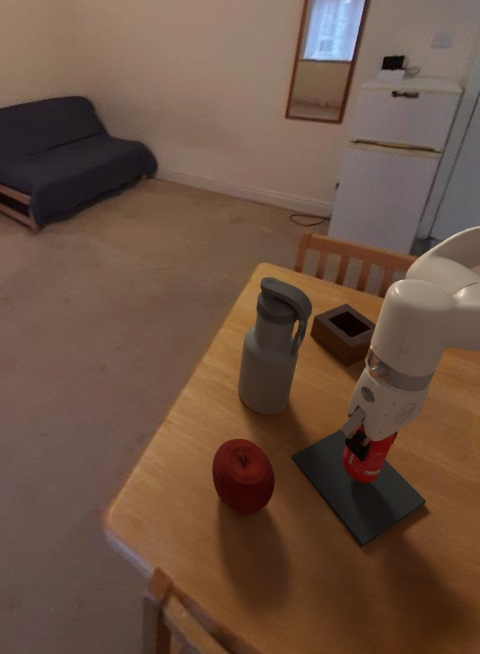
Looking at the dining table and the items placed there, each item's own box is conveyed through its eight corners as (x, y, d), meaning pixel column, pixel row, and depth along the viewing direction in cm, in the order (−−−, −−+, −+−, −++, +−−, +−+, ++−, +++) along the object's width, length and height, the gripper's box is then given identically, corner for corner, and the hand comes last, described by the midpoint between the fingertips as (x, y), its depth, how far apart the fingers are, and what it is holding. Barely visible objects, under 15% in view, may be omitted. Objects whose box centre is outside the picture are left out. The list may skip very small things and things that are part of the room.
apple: (279, 492, 67) (288, 456, 62) (252, 545, 60) (259, 509, 56) (228, 453, 73) (233, 417, 68) (198, 497, 66) (201, 461, 62)
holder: (341, 321, 100) (346, 303, 97) (379, 351, 91) (386, 332, 89) (310, 335, 96) (314, 316, 94) (346, 367, 88) (352, 347, 85)
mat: (349, 427, 76) (350, 423, 75) (424, 504, 64) (426, 501, 64) (291, 458, 71) (292, 455, 71) (361, 548, 60) (362, 544, 59)
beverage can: (345, 481, 65) (362, 435, 59) (337, 449, 69) (353, 403, 64) (381, 489, 64) (402, 442, 58) (371, 456, 68) (389, 410, 63)
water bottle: (296, 391, 83) (321, 284, 71) (279, 428, 76) (303, 316, 64) (249, 366, 89) (264, 263, 76) (229, 398, 82) (242, 290, 70)
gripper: (380, 409, 49) (349, 493, 57) (468, 361, 55) (429, 443, 63) (330, 364, 56) (308, 444, 64) (413, 325, 61) (384, 403, 69)
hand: (368, 443), depth 63 cm, fingers closed on beverage can, 5 cm apart
